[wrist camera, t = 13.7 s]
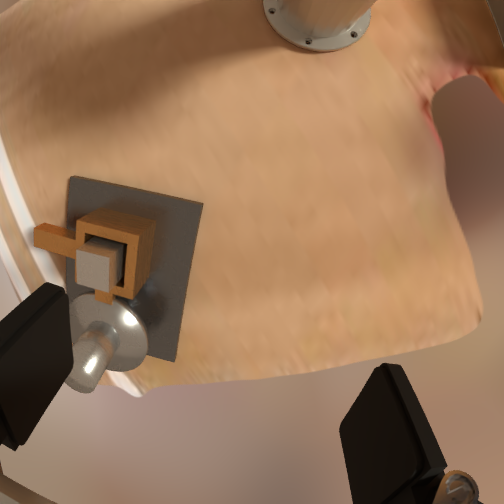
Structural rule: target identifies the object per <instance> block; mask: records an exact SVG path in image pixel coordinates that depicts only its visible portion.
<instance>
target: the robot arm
mask: <svg viewBox="0 0 504 504" xmlns="http://www.w3.org/2000/svg"><path fill="white" fill-rule="evenodd" d="M376 1H377V0H263V7H264V12H265V15H266V18H267V20H268V22H269V23H270V25H271V26H272V28H273V29H274V30H275V31H276V32H277V33H278V34H279V35H280V36H281V37H283V38H284V39H285V40H287V41H288V42H290V43H292V44H294V45H296V46H298V47H301V48H304V49H307V50H312V51H318V52H331V51H337V50H341V49H344V48H347V47H349V46H350V45H352V44H354V43H355V42H357V41H358V40H359V39H360V38H361V37H362V36H363V34H364V33H365V32H366V30H367V28H368V26H369V23H370V19H371V8H370V7H371V6H372V5H373V4H374V3H375V2H376ZM271 12H273V13H274V14H270V13H271ZM351 35H353V36H354V38H353V37H351ZM306 42H309V43H310V44H309V45H307V44H306ZM73 365H74V357H73V349H72V339H71V327H70V313H69V297H68V295H67V294H65V290H64V288H62V287H60V286H57V285H54V284H52V283H49V282H46V283H44V284H43V285H41V286H40V287H39V288H38V289H37V290H36V291H34V292H33V293H32V294H31V295H30V296H28V297H27V298H26V299H25V300H24V301H23V302H21V303H20V304H19V305H18V306H17V307H16V308H15V309H14V310H12V311H11V312H10V313H9V314H8V315H7V316H6V317H5V318H3V319H2V320H1V321H0V445H1V444H4V445H5V446H7V447H9V448H10V449H12V450H14V451H16V449H17V448H18V446H19V445H24V444H25V442H26V441H27V440H28V438H29V436H30V435H31V433H32V431H33V430H34V428H35V427H36V425H37V423H38V422H39V420H40V418H41V417H42V415H43V414H44V412H45V410H46V409H47V407H48V406H49V404H50V403H51V401H52V400H53V398H54V397H55V395H56V394H57V392H58V390H59V389H60V387H61V386H62V384H63V383H64V381H65V380H66V378H67V377H68V376H69V374H70V373H71V371H72V369H73ZM339 432H340V438H341V443H342V448H343V453H344V458H345V463H346V468H347V473H348V479H349V484H350V490H351V495H352V501H353V504H483V503H481V502H479V501H478V498H479V490H478V486H477V484H476V482H475V480H474V479H473V478H472V477H471V476H470V475H469V474H467V473H466V472H463V471H460V470H453V471H449V472H448V473H447V474H445V473H444V469H445V468H446V467H447V463H446V461H445V459H444V456H443V454H442V452H441V449H440V447H439V445H438V442H437V440H436V438H435V436H434V433H433V431H432V429H431V427H430V424H429V422H428V420H427V418H426V416H425V413H424V411H423V409H422V407H421V405H420V403H419V401H418V398H417V396H416V394H415V392H414V390H413V388H412V386H411V384H410V382H409V380H408V378H407V376H406V374H405V372H404V370H403V368H402V367H401V365H398V364H389V363H382V364H381V365H380V366H379V367H376V368H375V369H374V371H373V372H372V374H371V376H370V377H369V379H368V381H367V382H366V384H365V386H364V388H363V389H362V391H361V392H360V394H359V396H358V397H357V399H356V400H355V402H354V403H353V405H352V407H351V408H350V410H349V412H348V413H347V414H346V416H345V418H344V419H343V421H342V422H341V425H340V428H339ZM0 504H57V503H55V502H53V501H51V500H49V499H47V498H45V497H43V496H41V495H39V494H37V493H35V492H33V491H31V490H30V489H28V488H26V487H24V486H22V485H21V484H19V483H17V482H15V481H13V480H12V479H10V478H8V477H7V476H5V475H3V471H2V467H1V462H0Z"/></svg>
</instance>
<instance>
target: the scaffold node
mask: <svg viewBox="0 0 504 504" xmlns="http://www.w3.org/2000/svg"><path fill="white" fill-rule="evenodd" d="M203 204H204V203H200V202H196V201H191V200H187V199H183V198H178V197H174V196H169V195H165V194H160V193H156V192H151V191H147V190H142V189H137V188H133V187H128V186H123V185H118V184H114V183H109V182H104V181H99V180H94V179H89V178H84V177H79V176H71V177H70V187H69V199H68V214H67V229H66V228H62V227H58V226H55V225H51V224H47V223H43V224H41V225H39V226H37V227H35V228H34V246H35V247H38V248H41V249H44V250H48V251H51V252H54V253H57V254H60V255H63V256H66V286H67V295H68V297H69V313H70V327H71V339H72V343H73V344H74V345H73V346H72V349H73V357H74V365H73V369H72V371H71V373H70V374H69V376H68V377H67V378H66V380H65V381H64V382H65V383H66V384H67V385H68V386H70V387H71V388H72V389H74V390H76V391H78V392H81V393H91V392H92V391H94V389H95V387H96V385H97V384H98V382H99V380H100V378H101V377H102V375H103V373H104V372H105V370H106V369H107V370H111V371H118V372H124V371H129V370H132V369H134V368H136V367H138V366H139V365H140V364H141V363H142V362H143V360H144V358H145V356H146V355H149V356H153V357H156V358H160V359H163V360H167V361H171V362H175V359H176V354H177V347H178V341H179V334H180V328H181V322H182V315H183V309H184V303H185V298H186V292H187V286H188V280H189V275H190V269H191V264H192V259H193V253H194V248H195V243H196V238H197V233H198V228H199V223H200V218H201V213H202V208H203ZM94 236H99V237H103V238H107V239H111V240H115V241H118V242H122V243H126V244H128V245H127V255H126V266H125V275H124V276H123V277H122V278H121V279H120V280H119V282H118V283H117V284H116V285H115V286H114V287H113V288H112V290H111V291H110V292H109V293H108V292H104V291H101V290H97V289H94V288H90V287H87V286H83V285H80V284H77V269H76V249H78V248H79V247H80V246H82V245H83V244H85V243H86V242H87V241H89V240H90V239H92V238H93V237H94Z"/></svg>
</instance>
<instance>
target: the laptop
mask: <svg viewBox="0 0 504 504" xmlns="http://www.w3.org/2000/svg"><path fill="white" fill-rule="evenodd" d="M486 1H487V3H488V6H489V8H490V11H491V13H492V16H493V18H494V21H495V24H496V27H497V29H498V32H499V35H500V38H501V41H502V44H503V48H504V0H486Z"/></svg>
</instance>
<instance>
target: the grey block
mask: <svg viewBox="0 0 504 504" xmlns="http://www.w3.org/2000/svg"><path fill="white" fill-rule="evenodd" d="M127 245H128V244H126V243H122V242H118V241H115V240H111V239H107V238H103V237H99V236H94V237H93V238H92V239H90V240H89V241H87V242H86V243H85V244H83V245H82V246H80V247H79V248H78V249H76V269H77V284H80V285H83V286H87V287H90V288H94V289H97V290H101V291H104V292H108V293H109V292H110V291H111V290H112V288H113V287H114V286H115V285H116V284H117V283H118V282H119V280H120V279H121V278H122V277H123V276H124V275H125V266H126V255H127Z"/></svg>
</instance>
